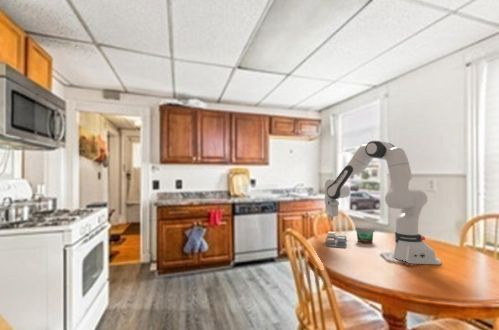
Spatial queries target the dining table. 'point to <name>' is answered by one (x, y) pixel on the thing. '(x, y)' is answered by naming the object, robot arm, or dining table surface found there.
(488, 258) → the dining table surface
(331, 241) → the terracotta key
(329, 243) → the keypad base
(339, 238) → the slate key
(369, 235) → the food container
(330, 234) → the cream key
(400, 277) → the dining table surface
